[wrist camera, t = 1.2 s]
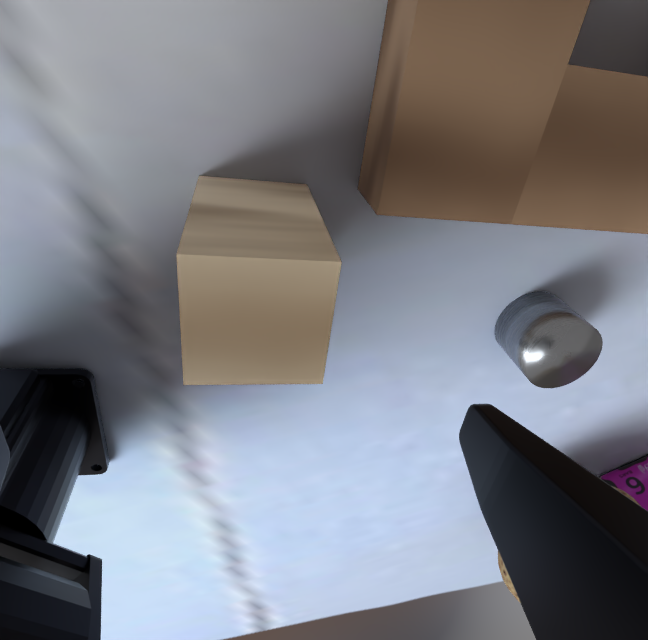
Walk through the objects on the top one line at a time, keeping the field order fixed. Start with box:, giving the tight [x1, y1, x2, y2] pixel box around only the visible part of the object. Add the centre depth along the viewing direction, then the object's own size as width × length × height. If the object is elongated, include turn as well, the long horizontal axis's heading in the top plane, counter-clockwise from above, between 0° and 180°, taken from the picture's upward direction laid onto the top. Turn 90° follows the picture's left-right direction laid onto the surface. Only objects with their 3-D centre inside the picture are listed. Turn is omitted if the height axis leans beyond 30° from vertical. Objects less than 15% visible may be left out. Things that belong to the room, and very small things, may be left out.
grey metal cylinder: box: [495, 291, 602, 388], centre depth 21 cm, size 4×4×3 cm
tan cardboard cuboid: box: [176, 176, 342, 385], centre depth 15 cm, size 4×4×7 cm
